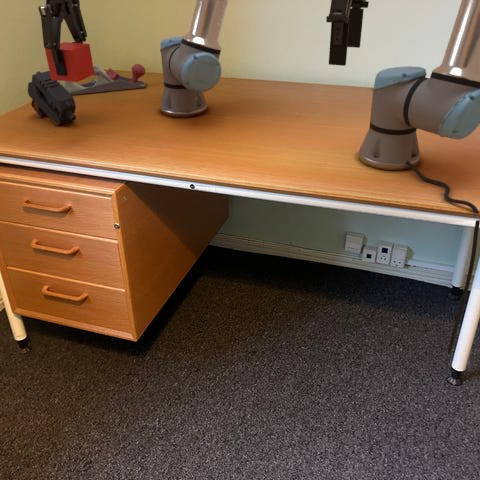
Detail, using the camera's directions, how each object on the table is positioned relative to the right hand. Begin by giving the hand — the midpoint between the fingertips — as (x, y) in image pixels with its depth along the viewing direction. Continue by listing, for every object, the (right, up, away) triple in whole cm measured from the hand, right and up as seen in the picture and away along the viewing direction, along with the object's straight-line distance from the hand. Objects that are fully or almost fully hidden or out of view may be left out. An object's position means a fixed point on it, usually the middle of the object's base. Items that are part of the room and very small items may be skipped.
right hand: (345, 55), depth 92 cm
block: (-63, +12, +51) cm, 82 cm away
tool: (-77, +6, +77) cm, 109 cm away
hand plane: (-68, +24, +106) cm, 128 cm away
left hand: (-63, +13, +50) cm, 82 cm away
